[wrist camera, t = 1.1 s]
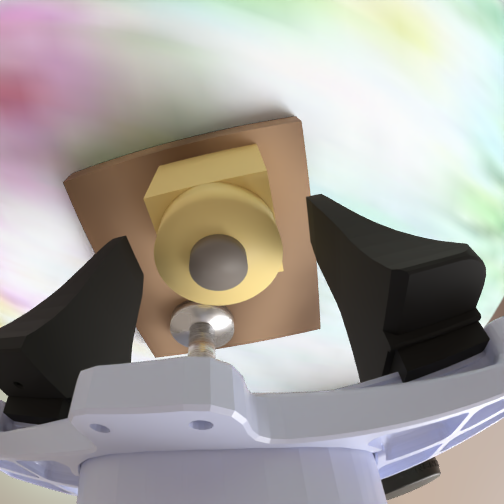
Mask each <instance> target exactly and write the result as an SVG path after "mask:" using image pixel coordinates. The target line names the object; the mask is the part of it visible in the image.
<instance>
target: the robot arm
mask: <svg viewBox="0 0 504 504" xmlns="http://www.w3.org/2000/svg"><path fill="white" fill-rule="evenodd" d="M306 204H307V213H308V223H309V233H310V242H311V245H312V248H313V251H314V254H315V257H316V260H317V263H318V265H319V267H320V269H321V271H322V273H323V275H324V277H325V279H326V281H327V284H328V286H329V288H330V290H331V292H332V294H333V296H334V298H335V300H336V302H337V305H338V307H339V310H340V312H341V315H342V318H343V321H344V325H345V328H346V331H347V334H348V338H349V341H350V344H351V348H352V351H353V355H354V359H355V362H356V366H357V370H358V374H359V378H360V382H361V383H358V384H354V385H350V386H347V387H343V388H339V389H335V390H331V391H315V392H291V393H251V392H250V391H249V390H248V388H247V385H246V383H245V380H244V378H243V376H242V375H241V374H240V373H239V372H238V371H237V370H236V369H235V368H234V367H233V366H232V365H231V364H229V363H226V362H223V361H220V360H217V359H214V358H211V357H198V356H185V357H177V358H169V359H161V360H152V361H143V362H134V363H131V352H132V343H133V337H134V333H135V328H136V323H137V318H138V314H139V309H140V304H141V300H142V294H143V281H144V274H143V272H142V270H141V267H140V265H139V263H138V261H137V259H136V257H135V254H134V252H133V250H132V248H131V246H130V243H129V241H128V239H127V236H122V237H118V238H114V239H112V240H111V241H109V242H108V243H107V244H106V245H104V246H103V247H102V248H101V249H100V250H99V251H98V252H97V253H96V254H95V255H94V256H93V257H92V258H91V259H90V260H89V261H88V262H87V263H86V264H85V265H84V266H83V267H82V268H81V269H80V270H78V271H77V272H76V273H75V274H74V275H73V276H72V277H71V278H70V279H69V280H68V281H67V282H66V283H65V284H64V285H62V286H61V287H60V288H59V289H58V290H57V291H55V292H54V293H53V294H52V295H51V296H49V297H48V298H47V299H45V300H44V301H43V302H41V303H40V304H38V305H37V306H36V307H34V308H33V309H32V310H30V311H29V312H27V313H26V314H24V315H22V316H21V317H19V318H17V319H16V320H14V321H12V322H11V323H9V324H7V325H5V326H3V327H1V328H0V389H1V390H2V391H3V392H4V393H5V394H6V395H8V399H7V402H4V401H2V400H0V471H2V472H3V473H5V474H7V475H9V476H10V477H13V478H16V479H19V480H22V481H25V482H28V483H32V484H35V485H39V486H42V487H45V488H48V489H52V490H55V491H59V492H62V493H66V494H70V495H73V496H77V504H387V500H386V497H385V493H384V489H383V486H382V482H381V480H382V479H384V478H387V477H389V476H392V475H394V474H397V473H399V472H402V471H404V470H406V469H409V468H411V467H413V466H416V465H418V464H420V463H422V462H424V461H426V460H429V459H431V458H433V457H435V456H437V455H439V454H441V453H443V452H444V451H446V450H448V449H450V448H452V447H454V446H456V445H458V444H460V443H461V442H463V441H465V440H467V439H469V438H470V437H472V436H474V435H476V434H477V433H479V432H481V431H483V430H484V429H486V428H488V427H489V426H491V425H493V424H494V423H496V422H497V421H499V420H500V419H503V418H504V316H502V317H500V318H498V319H496V320H494V321H492V322H490V323H489V324H488V325H486V326H485V328H484V329H483V327H482V326H481V324H480V323H479V320H480V319H481V314H480V313H479V311H478V310H477V309H476V305H477V303H478V300H479V297H480V295H481V292H482V289H483V286H484V282H485V278H486V267H485V265H484V263H483V261H482V260H481V259H480V257H479V256H478V255H477V254H476V253H475V252H474V251H473V250H472V249H471V248H470V247H469V245H468V244H463V243H454V242H445V241H438V240H433V239H427V238H422V237H418V236H414V235H410V234H407V233H403V232H400V231H397V230H394V229H391V228H388V227H386V226H383V225H380V224H378V223H376V222H373V221H371V220H369V219H367V218H365V217H363V216H361V215H359V214H357V213H355V212H353V211H351V210H349V209H347V208H346V207H344V206H342V205H340V204H339V203H337V202H335V201H333V200H332V199H330V198H328V197H326V196H324V195H322V194H318V195H313V196H308V197H306Z"/></svg>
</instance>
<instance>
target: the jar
mask: <svg viewBox="0 0 504 504" xmlns="http://www.w3.org/2000/svg"><path fill="white" fill-rule="evenodd" d="M440 474H441V472H440V470H439V465H438V462H437V460H436V458H435V457H433V458H431V459H429V460H426V461H424V462H422V463H420V464H418V465H416V466H413V467H411V468H409V469H406V470H404V471H402V472H399V473H397V474H394V475H392V476H389V477H387V478H384V479H382V480H381V482H382V486H383V489H384V493H385V497H386V500H389V499H392V498H395V497H398V496H400V495H403V494H405V493H408V492H410V491H413V490H415V489H417V488H419V487H421V486H423V485H425V484H427V483H429V482H431V481H433V480H434V479H436V478H437V477H438V476H440Z"/></svg>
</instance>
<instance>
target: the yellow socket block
mask: <svg viewBox="0 0 504 504" xmlns="http://www.w3.org/2000/svg"><path fill="white" fill-rule="evenodd" d="M143 199H144V202H145V205H146V207H147V210H148V213H149V215H150V218H151V221H152V223H153V226H154V229H155V231H156V234H157V237H156V240H155V245H154V260H155V265H156V268H157V270H158V272H159V274H160V276H161V278H162V279H163V281H164V282H165V283H166V284H167V285H168V286H169V287H170V288H171V289H172V290H173V291H174V292H176V293H177V294H179V295H180V296H182V297H184V298H186V299H188V300H191V301H193V302H196V303H200V304H205V305H216V306H219V305H231V304H235V303H240V302H243V301H245V300H248V299H250V298H252V297H254V296H256V295H257V294H259V293H260V292H262V291H263V290H264V289H265V288H267V287H268V286H269V285H270V284H271V282H272V281H273V280H274V278H275V277H276V275H277V273H278V272H282V271H284V270H283V264H282V258H283V245H282V241H281V237H280V234H279V231H278V228H277V224H276V220H275V214H274V208H273V202H272V196H271V191H270V185H269V179H268V173H267V169H266V167H265V164H264V162H263V159H262V157H261V154H260V151H259V149H258V146H257V144H252V145H247V146H242V147H237V148H232V149H227V150H223V151H218V152H214V153H209V154H205V155H201V156H197V157H192V158H188V159H184V160H180V161H176V162H172V163H169V164H165V165H161V166H159V167H158V169H157V171H156V173H155V175H154V177H153V179H152V181H151V184H150V186H149V188H148V190H147V192H146V194H145V196H144V198H143Z"/></svg>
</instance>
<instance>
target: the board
mask: <svg viewBox="0 0 504 504" xmlns="http://www.w3.org/2000/svg"><path fill="white" fill-rule="evenodd" d="M252 144H257V146H258V149H259V151H260V154H261V157H262V159H263V162H264V164H265V167H266V169H267V173H268V179H269V185H270V191H271V196H272V202H273V208H274V214H275V220H276V224H277V228H278V231H279V234H280V237H281V241H282V245H283V258H282V264H283V270H284V271H282V272H278V273H277V275H276V277H275V278H274V280H273V281H272V282H271V284H270V285H269V286H268V287H267V288H265V289H264V290H263V291H262V292H260V293H259V294H257V295H256V296H254V297H252V298H250V299H248V300H245V301H243V302H240V303H235V304H231V305H225V306H226V307H227V308H228V309H229V310H230V311H231V313H232V315H233V319H234V334H233V337H232V338H231V340H230V341H229V342H228V343H226V344H225V345H223V346H221V347H219V348H226V347H231V346H237V345H243V344H248V343H254V342H259V341H265V340H270V339H275V338H280V337H285V336H290V335H294V334H299V333H304V332H308V331H313V330H317V329H320V310H319V293H318V277H317V263H316V257H315V254H314V251H313V248H312V245H311V242H310V233H309V223H308V213H307V204H306V197H308V196H310V187H309V177H308V169H307V160H306V152H305V144H304V137H303V129H302V122H301V120H299V119H298V118H297V117H296V116H294V117H288V118H281V119H275V120H270V121H264V122H258V123H253V124H248V125H243V126H238V127H233V128H228V129H224V130H219V131H214V132H210V133H206V134H201V135H197V136H193V137H189V138H185V139H181V140H177V141H174V142H170V143H166V144H162V145H159V146H155V147H152V148H148V149H145V150H141V151H138V152H135V153H131V154H128V155H125V156H122V157H119V158H115V159H112V160H109V161H106V162H103V163H100V164H97V165H94V166H92V167H89V168H86V169H83V170H80V171H77V172H75V173H72V174H71V175H70V176H69V177H68V178H67V179H66V180H65V181H64V182H63V183H64V186H65V188H66V191H67V193H68V195H69V198H70V200H71V202H72V205H73V207H74V209H75V211H76V214H77V216H78V218H79V220H80V222H81V225H82V227H83V229H84V231H85V233H86V235H87V237H88V239H89V241H90V244H91V246H92V248H93V250H94V252H95V254H96V253H97V252H98V251H99V250H100V249H101V248H102V247H103V246H104V245H106V244H107V243H108V242H109V241H111V240H112V239H114V238H118V237H122V236H127V239H128V241H129V243H130V246H131V248H132V250H133V252H134V254H135V257H136V259H137V261H138V263H139V265H140V267H141V270H142V272H143V274H144V281H143V294H142V300H141V304H140V309H139V314H138V318H137V323H136V328H137V329H138V331H139V332H140V334H141V336H142V337H143V339H144V341H145V342H146V344H147V345H148V347H149V348H150V350H151V352H152V353H153V355H154V356H155V358H156V357H164V356H172V355H179V354H187V353H188V347H185V346H183V345H181V344H180V343H178V342H177V341H176V340H175V339H174V338H173V336H172V334H171V331H170V323H171V315H172V312H173V310H174V309H175V308H176V307H177V306H178V305H179V304H181V303H182V302H184V301H187V300H188V299H186V298H184V297H182V296H180V295H179V294H177V293H176V292H174V291H173V290H172V289H171V288H170V287H169V286H168V285H167V284H166V283H165V282H164V281H163V279H162V278H161V276H160V274H159V272H158V270H157V268H156V265H155V260H154V245H155V240H156V237H157V234H156V231H155V229H154V226H153V223H152V221H151V218H150V215H149V213H148V210H147V207H146V205H145V202H144V199H143V198H144V196H145V194H146V192H147V190H148V188H149V186H150V184H151V181H152V179H153V177H154V175H155V173H156V171H157V169H158V167H159V166H161V165H165V164H169V163H172V162H176V161H180V160H184V159H188V158H192V157H197V156H201V155H205V154H209V153H214V152H218V151H223V150H227V149H232V148H237V147H242V146H247V145H252ZM219 348H216V349H219Z"/></svg>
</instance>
